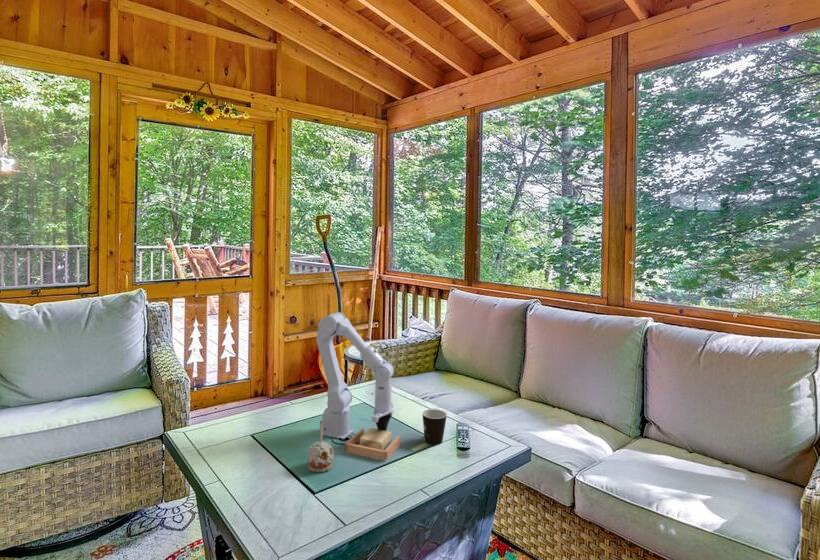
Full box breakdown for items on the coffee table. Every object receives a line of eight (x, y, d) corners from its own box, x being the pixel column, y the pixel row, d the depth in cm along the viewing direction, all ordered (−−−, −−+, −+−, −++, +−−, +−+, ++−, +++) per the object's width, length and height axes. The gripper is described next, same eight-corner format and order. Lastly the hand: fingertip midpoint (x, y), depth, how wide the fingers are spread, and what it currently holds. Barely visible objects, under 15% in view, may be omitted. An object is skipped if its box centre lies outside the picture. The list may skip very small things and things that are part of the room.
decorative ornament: (321, 476, 138) (322, 428, 137) (302, 468, 142) (302, 421, 141) (338, 465, 145) (339, 419, 143) (319, 458, 149) (320, 413, 147)
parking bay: (344, 452, 153) (344, 443, 153) (361, 436, 165) (361, 428, 165) (386, 461, 148) (386, 452, 148) (400, 444, 160) (400, 436, 160)
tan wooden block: (359, 449, 156) (359, 438, 155) (370, 438, 164) (370, 428, 164) (381, 454, 153) (381, 442, 153) (391, 442, 161) (391, 432, 161)
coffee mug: (443, 447, 159) (445, 419, 158) (419, 444, 161) (420, 417, 160) (447, 433, 171) (449, 407, 170) (425, 430, 172) (426, 405, 171)
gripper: (385, 406, 154) (384, 444, 155) (401, 392, 168) (399, 428, 169) (366, 402, 156) (365, 441, 158) (383, 389, 170) (382, 425, 171)
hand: (382, 434), depth 164 cm, fingers closed
